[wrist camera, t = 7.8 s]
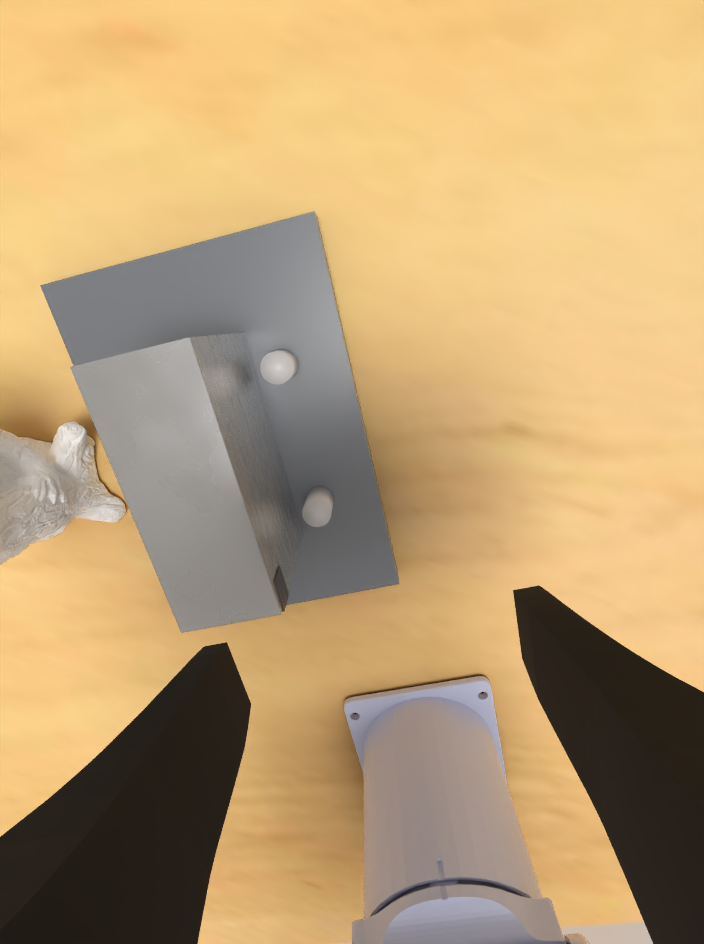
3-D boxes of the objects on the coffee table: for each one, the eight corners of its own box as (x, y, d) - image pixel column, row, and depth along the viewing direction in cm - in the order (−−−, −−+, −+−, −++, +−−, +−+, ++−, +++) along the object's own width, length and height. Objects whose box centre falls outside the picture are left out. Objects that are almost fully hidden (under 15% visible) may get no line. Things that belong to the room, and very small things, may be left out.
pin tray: (397, 572, 22) (402, 603, 20) (188, 612, 23) (167, 646, 21) (317, 217, 17) (309, 200, 15) (56, 287, 18) (9, 282, 16)
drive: (305, 534, 20) (283, 616, 15) (230, 550, 21) (180, 635, 15) (246, 332, 18) (191, 337, 12) (160, 353, 18) (68, 367, 12)
